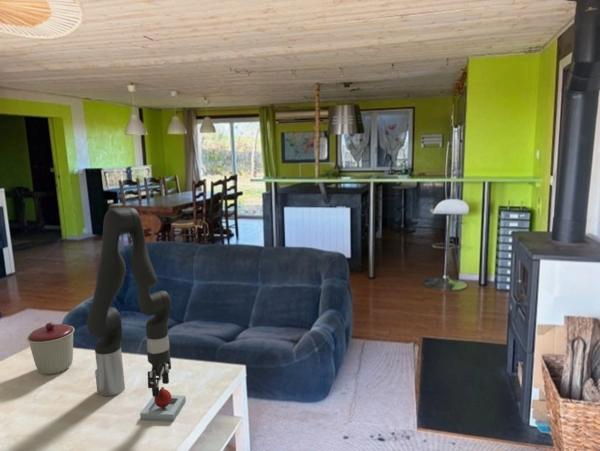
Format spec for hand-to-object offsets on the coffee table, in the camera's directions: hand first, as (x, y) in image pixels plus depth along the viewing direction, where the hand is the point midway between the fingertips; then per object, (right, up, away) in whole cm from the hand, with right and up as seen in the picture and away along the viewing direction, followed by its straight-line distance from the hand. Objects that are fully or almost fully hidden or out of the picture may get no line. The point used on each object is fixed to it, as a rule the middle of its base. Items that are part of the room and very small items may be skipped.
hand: (160, 389), depth 162 cm
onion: (+1, -7, +1) cm, 7 cm away
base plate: (+1, -8, +2) cm, 8 cm away
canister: (-56, -4, +34) cm, 66 cm away
